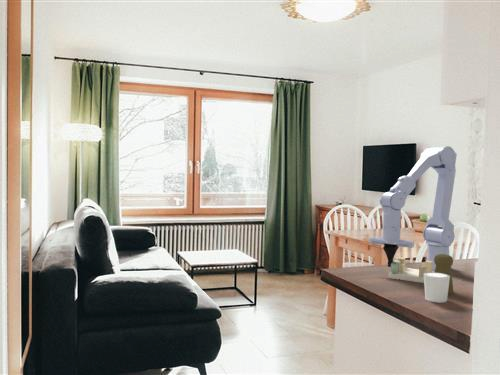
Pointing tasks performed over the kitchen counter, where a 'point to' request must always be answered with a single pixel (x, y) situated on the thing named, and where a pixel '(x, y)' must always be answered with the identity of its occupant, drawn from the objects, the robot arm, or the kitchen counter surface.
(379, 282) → the kitchen counter surface
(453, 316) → the kitchen counter surface
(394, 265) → the hinged leg
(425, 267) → the stool seat
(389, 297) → the kitchen counter surface
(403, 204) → the robot arm
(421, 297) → the kitchen counter surface
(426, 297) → the shot glass
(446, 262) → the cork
